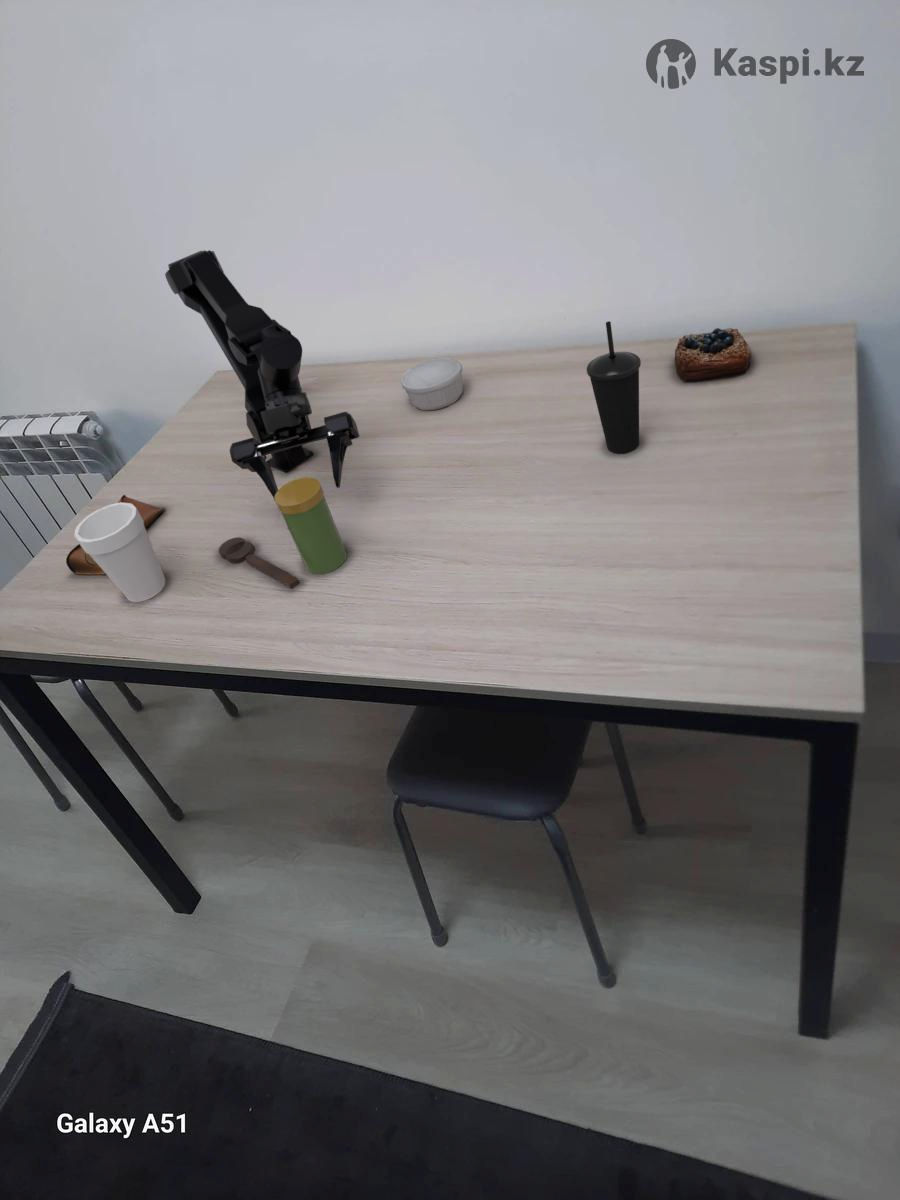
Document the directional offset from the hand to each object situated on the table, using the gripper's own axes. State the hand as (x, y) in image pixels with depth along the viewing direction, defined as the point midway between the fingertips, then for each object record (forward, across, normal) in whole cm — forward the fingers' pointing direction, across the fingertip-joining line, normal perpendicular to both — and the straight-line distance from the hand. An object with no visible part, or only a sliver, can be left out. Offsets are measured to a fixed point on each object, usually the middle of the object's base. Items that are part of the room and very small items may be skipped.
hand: (308, 495), depth 128 cm
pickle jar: (+10, 0, 0) cm, 10 cm away
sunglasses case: (-5, -36, +16) cm, 40 cm away
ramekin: (-18, +22, +29) cm, 41 cm away
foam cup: (+6, -29, +4) cm, 30 cm away
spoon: (+8, -10, +2) cm, 13 cm away
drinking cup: (+4, +48, +6) cm, 49 cm away
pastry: (-8, +68, +18) cm, 71 cm away
